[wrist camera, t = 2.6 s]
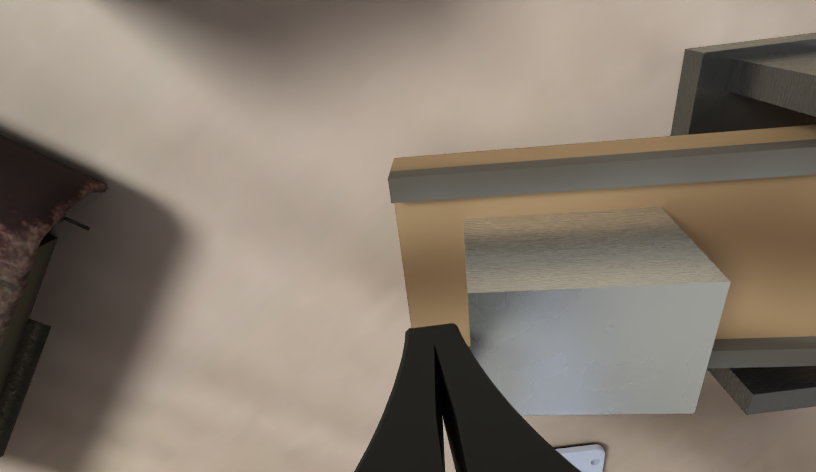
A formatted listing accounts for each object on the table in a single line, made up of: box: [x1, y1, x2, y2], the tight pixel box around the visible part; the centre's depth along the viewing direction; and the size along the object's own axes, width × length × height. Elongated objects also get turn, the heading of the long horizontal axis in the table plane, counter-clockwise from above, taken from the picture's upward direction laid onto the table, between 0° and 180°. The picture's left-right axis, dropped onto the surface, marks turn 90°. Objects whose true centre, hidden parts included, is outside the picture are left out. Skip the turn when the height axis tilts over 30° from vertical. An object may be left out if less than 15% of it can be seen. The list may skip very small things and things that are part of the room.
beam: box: [388, 125, 816, 368], centre depth 15 cm, size 8×26×2 cm, turn 96°
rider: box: [463, 207, 731, 416], centre depth 14 cm, size 4×6×4 cm
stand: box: [671, 33, 816, 415], centre depth 16 cm, size 12×5×6 cm, turn 6°
